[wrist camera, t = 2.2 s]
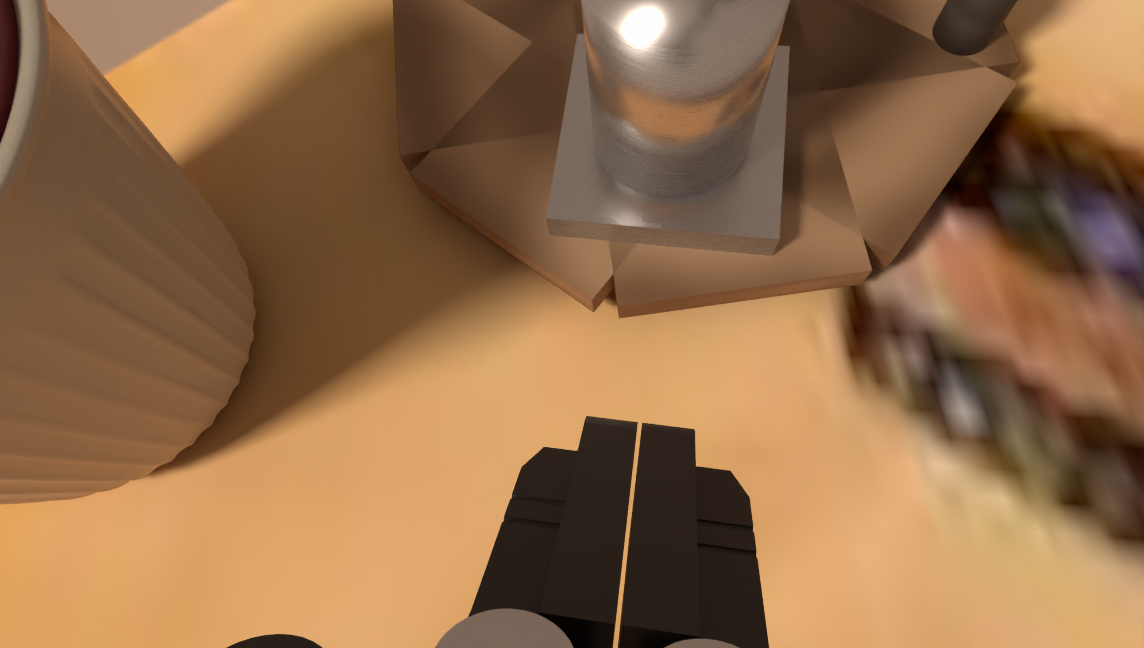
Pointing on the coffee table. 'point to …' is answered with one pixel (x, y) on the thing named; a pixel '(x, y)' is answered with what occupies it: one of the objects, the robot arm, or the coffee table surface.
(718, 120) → the silver post on plate
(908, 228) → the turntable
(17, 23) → the canister
